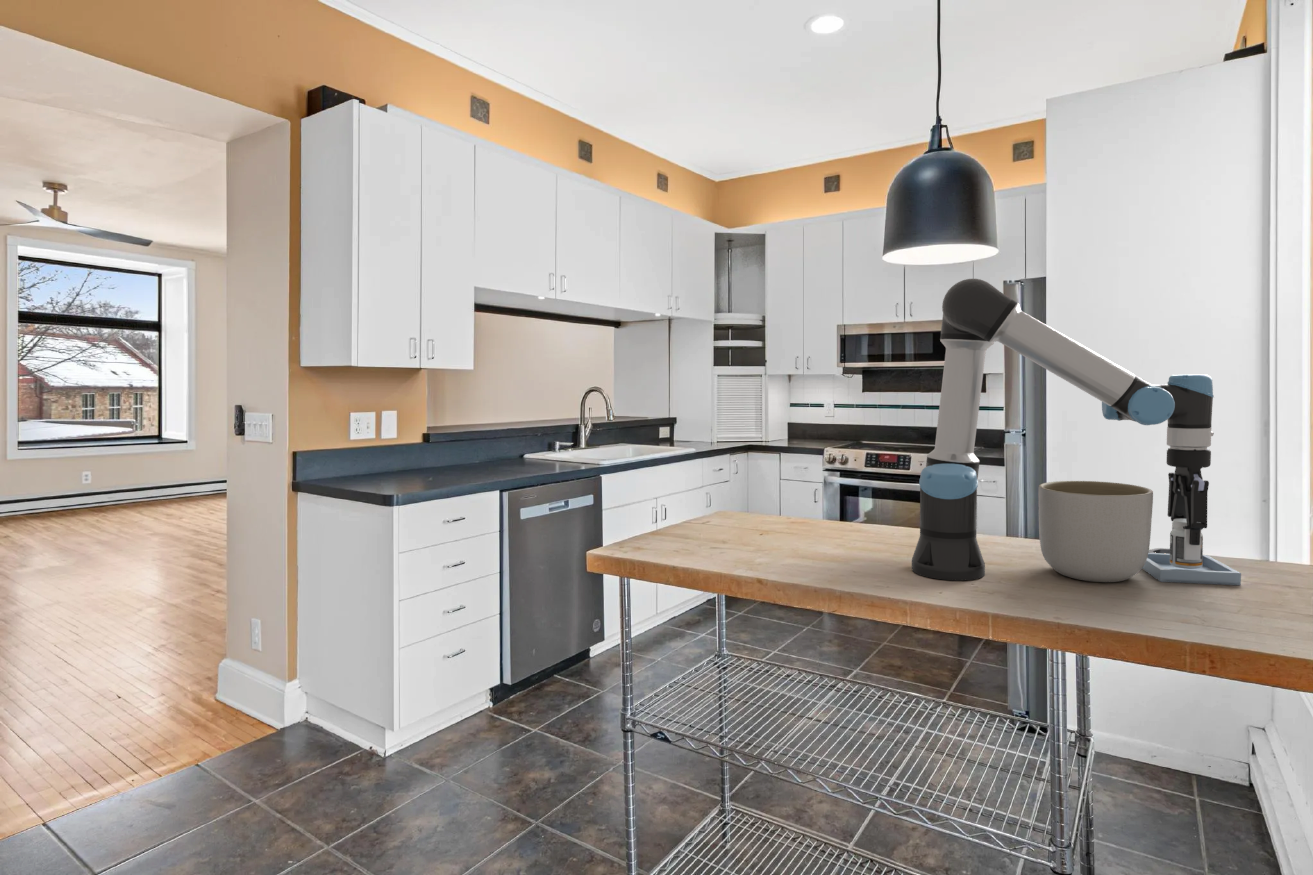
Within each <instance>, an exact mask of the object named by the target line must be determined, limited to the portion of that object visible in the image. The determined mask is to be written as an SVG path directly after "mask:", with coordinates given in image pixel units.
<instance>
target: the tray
mask: <svg viewBox="0 0 1313 875" xmlns="http://www.w3.org/2000/svg"><path fill="white" fill-rule="evenodd" d="M1143 569H1144V570H1143ZM1141 570H1143V571H1145V572H1146V573H1147V572H1148V573H1147V574H1149V575H1150V574H1151V575H1150V576H1152V577H1153V578H1154V579H1156V580H1157V579H1158V580H1157V581H1159V582H1162V583H1181V584H1182V583H1184V584H1202V585H1204V584H1205V585H1225V586H1242V585H1241V584H1242V573H1241V572H1239V571H1238V570H1236V569H1234V568H1232V567H1231V566H1228V565H1227V564H1225V563H1223V562H1221V561H1220V560H1217V559H1215V558H1213V557H1211V556H1210V555H1208V554H1203V563H1202V567H1201V568H1198V569H1184V568H1179V567H1175V566H1172V565H1171V564H1170V554H1164V553H1148V557H1147V560H1146V563H1145V565H1144V567H1143V568H1142V569H1141Z"/></svg>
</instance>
